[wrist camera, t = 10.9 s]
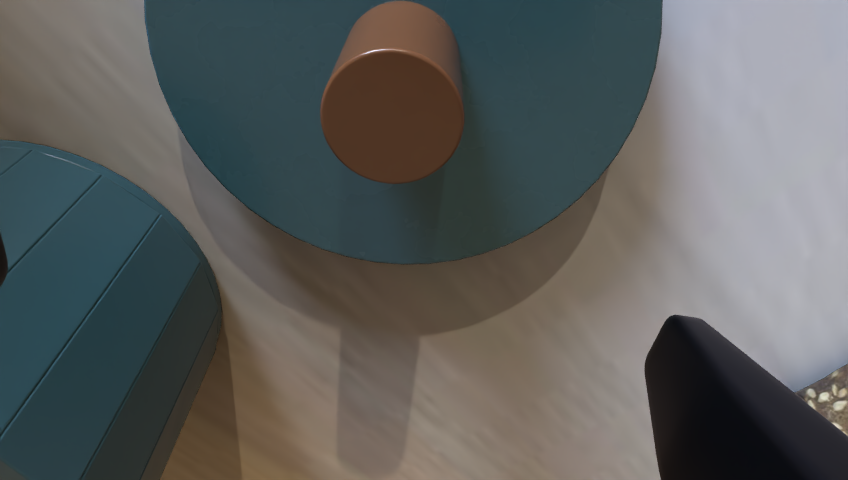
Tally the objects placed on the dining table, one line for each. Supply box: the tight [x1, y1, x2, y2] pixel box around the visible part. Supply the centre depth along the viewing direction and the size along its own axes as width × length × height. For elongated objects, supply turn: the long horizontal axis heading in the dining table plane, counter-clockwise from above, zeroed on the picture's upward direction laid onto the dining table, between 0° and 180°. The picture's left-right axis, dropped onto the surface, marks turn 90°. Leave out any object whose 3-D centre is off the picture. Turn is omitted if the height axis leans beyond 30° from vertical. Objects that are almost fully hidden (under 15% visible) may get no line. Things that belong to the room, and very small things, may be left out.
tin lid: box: [144, 0, 663, 264], centre depth 15 cm, size 13×13×5 cm
